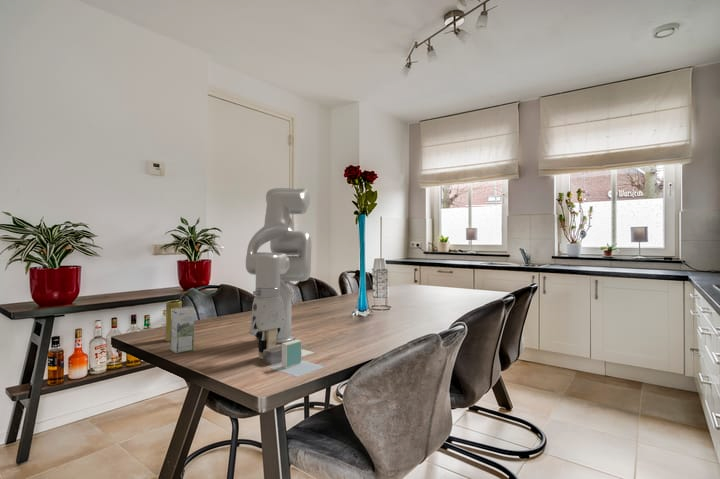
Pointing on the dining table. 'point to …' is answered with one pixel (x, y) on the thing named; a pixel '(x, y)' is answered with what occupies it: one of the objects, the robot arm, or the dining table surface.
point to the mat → (298, 368)
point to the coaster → (306, 353)
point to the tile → (291, 353)
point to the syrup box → (182, 329)
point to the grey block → (271, 349)
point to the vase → (168, 317)
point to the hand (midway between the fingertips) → (267, 350)
